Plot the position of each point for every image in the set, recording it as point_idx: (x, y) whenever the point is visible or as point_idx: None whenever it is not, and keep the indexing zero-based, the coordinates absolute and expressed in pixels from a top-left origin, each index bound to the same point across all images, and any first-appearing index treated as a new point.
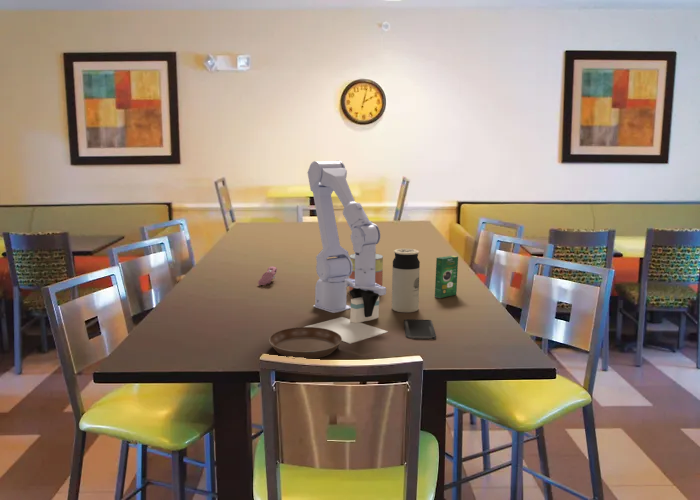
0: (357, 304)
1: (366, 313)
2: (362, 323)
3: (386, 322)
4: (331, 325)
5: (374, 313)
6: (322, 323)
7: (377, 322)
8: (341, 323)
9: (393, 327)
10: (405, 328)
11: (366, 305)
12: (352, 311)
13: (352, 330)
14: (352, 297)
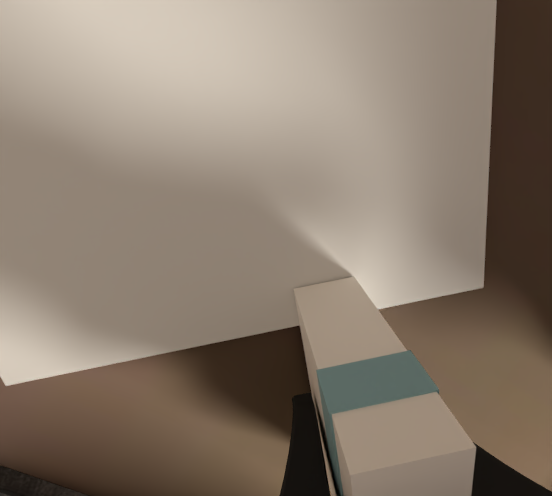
0: (334, 430)
1: (294, 419)
2: (264, 329)
3: (231, 461)
4: (360, 82)
5: (328, 471)
6: (460, 41)
7: (260, 422)
8: (356, 195)
9: (118, 451)
10: (2, 492)
11: (287, 493)
12: (360, 333)
13: (137, 170)
14: (545, 492)
